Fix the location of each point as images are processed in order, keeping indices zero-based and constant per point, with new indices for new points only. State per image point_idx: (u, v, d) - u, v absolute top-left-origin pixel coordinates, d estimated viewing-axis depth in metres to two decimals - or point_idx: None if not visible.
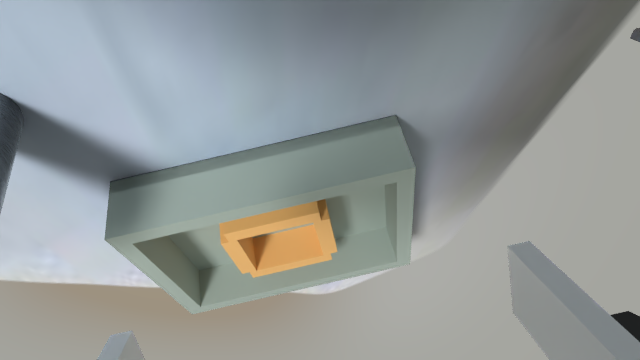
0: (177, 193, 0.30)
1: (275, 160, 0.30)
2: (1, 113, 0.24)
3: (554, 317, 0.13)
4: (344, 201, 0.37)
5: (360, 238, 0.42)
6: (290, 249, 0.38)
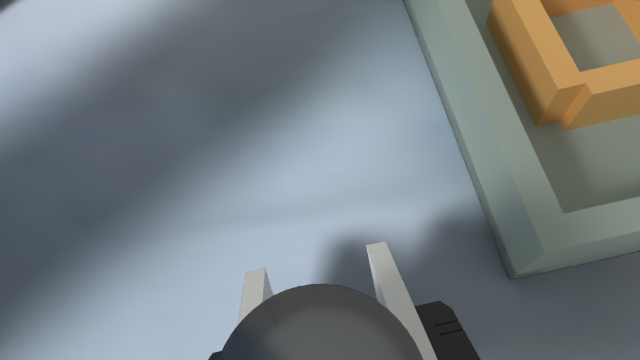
0: (484, 164, 0.20)
1: (435, 59, 0.24)
2: None
3: (384, 306, 0.15)
4: None
5: None
6: None
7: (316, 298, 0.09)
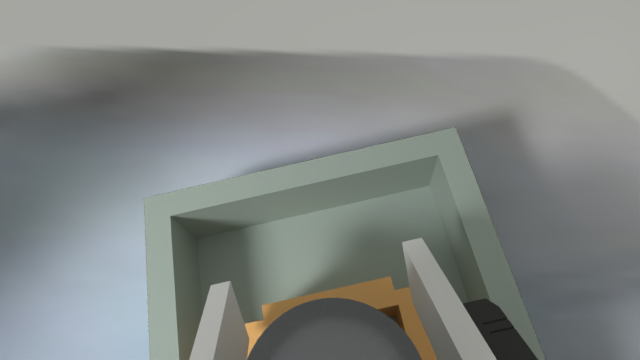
0: None
1: None
2: None
3: (426, 304, 0.15)
4: (331, 272, 0.23)
5: (446, 227, 0.23)
6: None
7: (330, 310, 0.10)
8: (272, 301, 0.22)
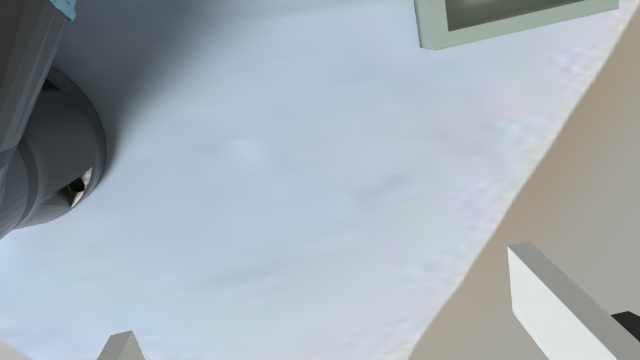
0: None
1: None
2: None
3: (554, 317, 0.13)
4: None
5: None
6: None
7: None
8: None
